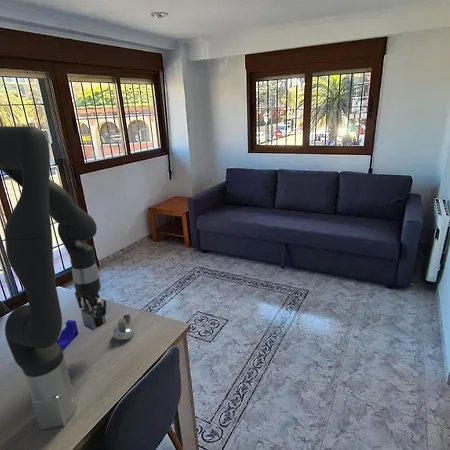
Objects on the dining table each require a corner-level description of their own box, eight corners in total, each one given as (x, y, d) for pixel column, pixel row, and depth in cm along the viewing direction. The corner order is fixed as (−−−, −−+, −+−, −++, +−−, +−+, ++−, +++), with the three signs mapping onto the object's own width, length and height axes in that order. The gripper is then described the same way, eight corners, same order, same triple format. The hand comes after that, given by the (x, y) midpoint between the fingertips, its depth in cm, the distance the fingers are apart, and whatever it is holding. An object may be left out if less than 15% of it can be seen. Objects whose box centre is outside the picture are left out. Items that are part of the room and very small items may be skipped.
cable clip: (68, 333, 118) (64, 319, 116) (78, 334, 118) (75, 320, 116) (45, 356, 107) (41, 342, 105) (57, 357, 107) (53, 343, 105)
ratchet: (133, 340, 113) (130, 325, 111) (112, 343, 112) (109, 328, 110) (136, 317, 125) (134, 303, 123) (118, 320, 124) (115, 306, 122)
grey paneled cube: (106, 322, 107) (103, 307, 105) (92, 330, 103) (89, 314, 101) (97, 318, 109) (94, 303, 107) (83, 325, 105) (80, 310, 103)
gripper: (110, 278, 99) (117, 324, 105) (83, 267, 107) (91, 310, 113) (89, 288, 94) (97, 336, 99) (62, 276, 101) (72, 321, 107)
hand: (94, 322), depth 106 cm, fingers closed on grey paneled cube, 5 cm apart
